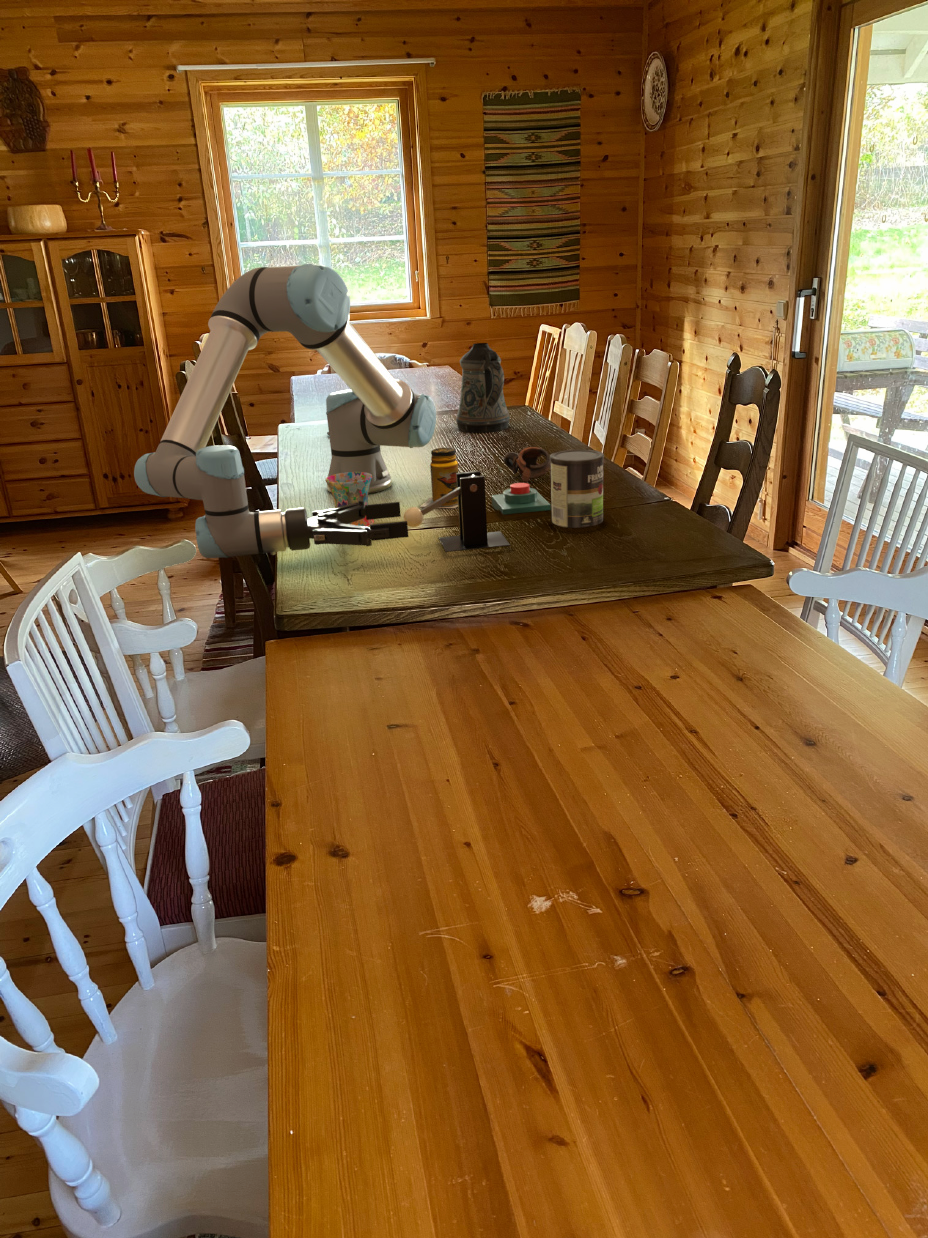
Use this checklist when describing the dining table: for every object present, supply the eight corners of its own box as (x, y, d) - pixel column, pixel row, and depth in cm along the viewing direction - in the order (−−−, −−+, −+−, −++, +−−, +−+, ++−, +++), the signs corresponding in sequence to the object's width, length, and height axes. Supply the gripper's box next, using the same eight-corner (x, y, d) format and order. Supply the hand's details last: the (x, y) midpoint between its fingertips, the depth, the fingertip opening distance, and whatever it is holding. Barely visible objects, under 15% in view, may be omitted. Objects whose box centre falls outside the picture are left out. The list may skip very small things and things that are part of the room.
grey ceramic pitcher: (476, 421, 292) (472, 339, 283) (528, 425, 281) (526, 340, 272) (445, 430, 280) (440, 346, 271) (498, 435, 269) (495, 347, 260)
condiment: (456, 508, 197) (452, 453, 192) (419, 507, 199) (415, 452, 195) (466, 499, 203) (463, 445, 199) (430, 498, 206) (426, 445, 201)
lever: (410, 532, 166) (401, 516, 165) (408, 527, 170) (399, 511, 168) (483, 491, 166) (474, 474, 164) (480, 486, 169) (471, 469, 168)
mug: (373, 533, 183) (368, 481, 179) (327, 535, 183) (321, 483, 179) (381, 517, 194) (376, 467, 190) (338, 518, 194) (332, 469, 190)
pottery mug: (554, 474, 223) (558, 448, 216) (542, 499, 217) (546, 474, 211) (507, 461, 225) (510, 435, 218) (494, 486, 219) (497, 460, 213)
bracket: (445, 557, 166) (441, 483, 161) (438, 543, 174) (434, 472, 169) (510, 550, 168) (507, 477, 163) (500, 537, 176) (497, 466, 171)
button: (508, 491, 193) (508, 483, 193) (527, 490, 194) (527, 481, 193) (512, 496, 190) (512, 488, 189) (531, 494, 190) (531, 486, 190)
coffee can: (611, 521, 182) (612, 450, 177) (590, 535, 174) (590, 462, 169) (565, 515, 187) (564, 447, 182) (541, 529, 179) (540, 458, 174)
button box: (491, 504, 198) (491, 486, 196) (536, 500, 199) (536, 482, 198) (503, 519, 187) (502, 500, 186) (550, 514, 188) (550, 496, 187)
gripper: (289, 530, 177) (398, 520, 180) (287, 572, 154) (412, 559, 157) (284, 493, 174) (395, 482, 177) (282, 529, 151) (409, 516, 154)
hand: (403, 518), depth 167 cm, fingers open, 13 cm apart
